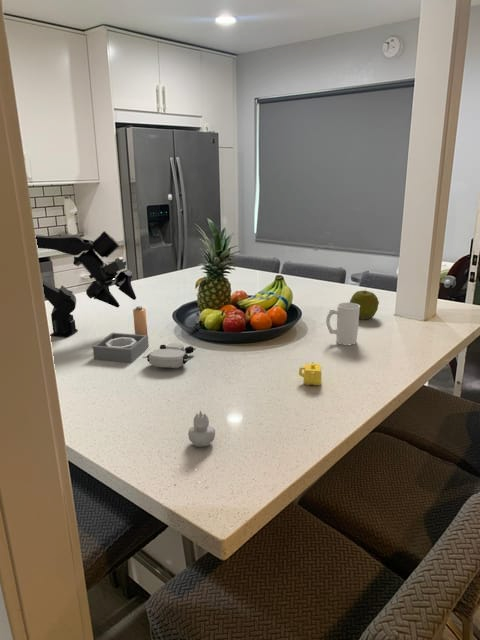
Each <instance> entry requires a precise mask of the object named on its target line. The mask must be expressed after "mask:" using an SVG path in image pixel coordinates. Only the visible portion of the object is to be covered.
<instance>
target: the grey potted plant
mask: <svg viewBox="0 0 480 640" xmlns="http://www.w3.org/2000/svg"><path fill="white" fill-rule="evenodd" d="M209 421H210V420H209V417H208V415H207V414H206V413H202V411H201V410H200V411H199V414H198V413H196V414H195V415H194V418H193V426H192V427H190V428H189V429H188V433H187V435H188V439H189V441H190V442H191V443H192V446H195V447H197V448H204V447H208V446H209V445H211V444H212V442H214V440H215V438H216V430H215V428H214V427H213V426H210V424H209V423H210V422H209Z"/></svg>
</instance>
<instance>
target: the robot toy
mask: <svg viewBox="0 0 480 640" xmlns="http://www.w3.org/2000/svg"><path fill="white" fill-rule="evenodd" d="M196 350H197V347H196V346H192V345H190V346H187V347H185V346H184V345H183V344H182V343H179V342H170V343H168V344H167V345H166V344H161V345H159V348H158V349H154V350H153V351H151V352H150V353H148V355H145V356H142V359H146V360H147V362H148V363H149V365H151V366H153V367H156V368H173V369H178V368H179V369H180V368H181V367H183V366H184V365H186V364H187V362H188V361H190V357H189V355H190V354H192V353H194V351H196Z"/></svg>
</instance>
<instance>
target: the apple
mask: <svg viewBox="0 0 480 640" xmlns="http://www.w3.org/2000/svg"><path fill="white" fill-rule="evenodd" d="M349 303H355V304H358V305H360V311H359V318H360V319H361V320H368V319H370V318H373V317H374V316H375V315H376V313H377V311H378V307H379V304H380V301H379V298H378V297H377V295H375V293H374V292H372V291H368V290H357V291H356V292H355V293H354V294H353V295H352V296H351V298H350V299H349ZM360 319H359V320H360Z"/></svg>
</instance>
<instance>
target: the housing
mask: <svg viewBox="0 0 480 640" xmlns="http://www.w3.org/2000/svg"><path fill="white" fill-rule="evenodd" d="M148 347H149V348H150V346H149V335H136V334H135V333H122V332H121V333H120V332H111V333H110V334H108V335H107V336H106V337H104V338H103V339H101V340H100V341H98V342H97V343H96V344H94V345H92V352H93V360H99V361H110V362H121V363H129V364H130V363H134V361H136V360H137V359H138V358H139V357H140V356H142V354H143V353H145V351H147V350H146V349H147V348H148ZM149 348H148V349H149Z"/></svg>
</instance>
